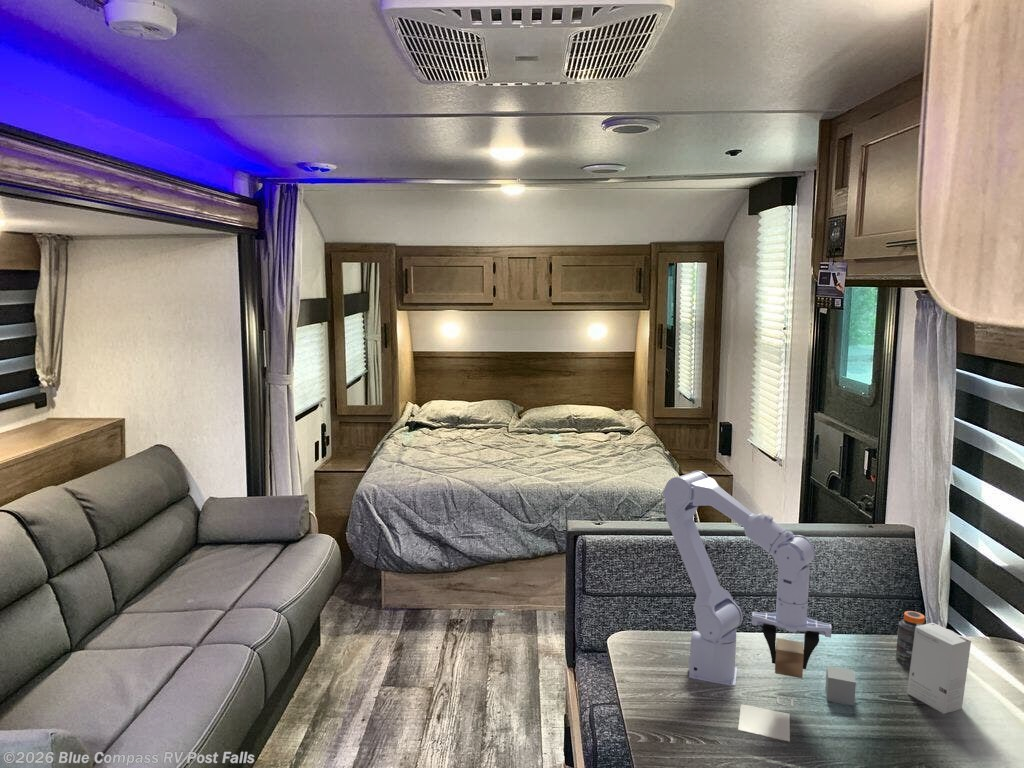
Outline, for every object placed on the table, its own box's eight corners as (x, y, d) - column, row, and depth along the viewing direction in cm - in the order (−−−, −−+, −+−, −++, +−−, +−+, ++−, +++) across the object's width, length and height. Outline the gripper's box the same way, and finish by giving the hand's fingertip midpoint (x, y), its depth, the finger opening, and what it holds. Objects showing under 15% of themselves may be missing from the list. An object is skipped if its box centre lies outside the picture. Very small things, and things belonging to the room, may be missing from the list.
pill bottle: (930, 670, 151) (934, 621, 150) (901, 667, 153) (904, 618, 151) (920, 657, 157) (923, 609, 156) (892, 654, 158) (895, 607, 157)
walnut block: (774, 673, 136) (776, 649, 136) (775, 661, 141) (776, 638, 140) (802, 678, 134) (803, 654, 134) (801, 666, 139) (803, 642, 138)
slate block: (826, 700, 139) (828, 677, 138) (825, 688, 144) (826, 665, 143) (854, 706, 137) (855, 682, 136) (852, 693, 142) (853, 670, 141)
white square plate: (737, 732, 129) (738, 729, 129) (740, 706, 137) (740, 704, 137) (789, 743, 126) (789, 740, 126) (789, 716, 134) (789, 714, 134)
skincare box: (906, 694, 142) (911, 625, 140) (925, 688, 144) (931, 620, 143) (946, 716, 134) (951, 644, 133) (966, 709, 137) (972, 638, 135)
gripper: (752, 600, 135) (749, 666, 136) (834, 612, 130) (829, 681, 131) (753, 587, 141) (751, 650, 143) (831, 598, 136) (827, 663, 138)
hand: (788, 663), depth 137 cm, fingers closed on walnut block, 5 cm apart
